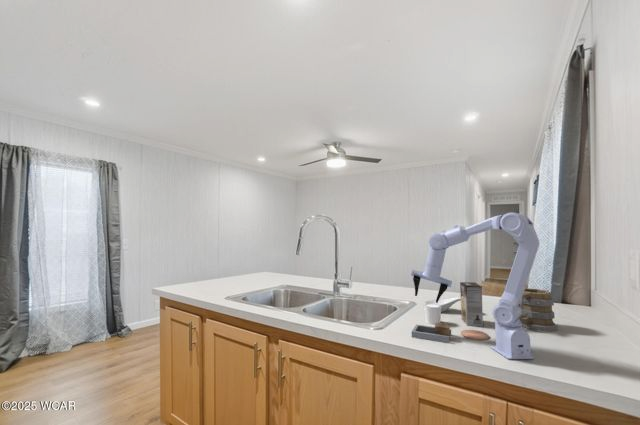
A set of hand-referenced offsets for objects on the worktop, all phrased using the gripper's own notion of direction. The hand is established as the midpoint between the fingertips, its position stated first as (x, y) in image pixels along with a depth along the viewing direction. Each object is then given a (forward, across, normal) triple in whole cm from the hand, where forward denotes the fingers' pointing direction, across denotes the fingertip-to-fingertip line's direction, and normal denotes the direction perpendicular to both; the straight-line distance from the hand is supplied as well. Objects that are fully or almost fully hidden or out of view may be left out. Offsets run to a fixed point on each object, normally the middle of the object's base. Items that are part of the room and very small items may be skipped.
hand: (426, 298), depth 112 cm
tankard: (+5, -39, -22) cm, 45 cm away
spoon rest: (+14, -11, -34) cm, 38 cm away
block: (+10, -8, +5) cm, 14 cm away
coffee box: (+10, -19, -18) cm, 28 cm away
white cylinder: (+13, -4, -12) cm, 19 cm away
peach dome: (+8, -19, -2) cm, 21 cm away
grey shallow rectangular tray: (+11, -5, +5) cm, 13 cm away
